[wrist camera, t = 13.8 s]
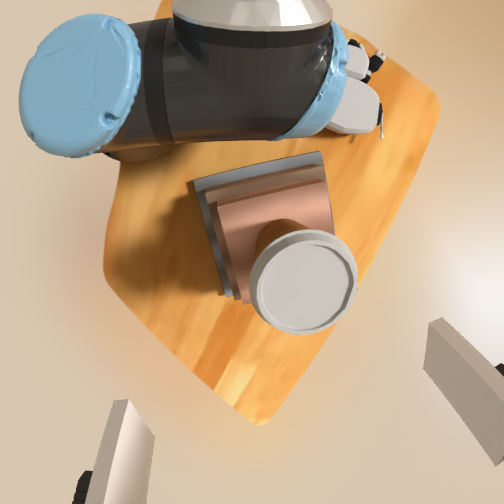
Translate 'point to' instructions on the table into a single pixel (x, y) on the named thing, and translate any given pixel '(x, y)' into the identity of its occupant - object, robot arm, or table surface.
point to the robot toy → (358, 94)
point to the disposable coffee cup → (301, 277)
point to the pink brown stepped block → (260, 210)
